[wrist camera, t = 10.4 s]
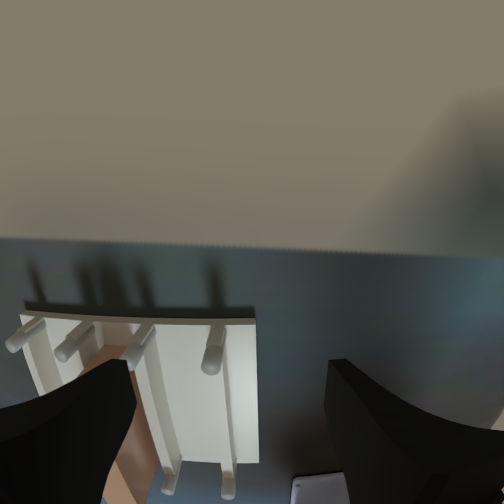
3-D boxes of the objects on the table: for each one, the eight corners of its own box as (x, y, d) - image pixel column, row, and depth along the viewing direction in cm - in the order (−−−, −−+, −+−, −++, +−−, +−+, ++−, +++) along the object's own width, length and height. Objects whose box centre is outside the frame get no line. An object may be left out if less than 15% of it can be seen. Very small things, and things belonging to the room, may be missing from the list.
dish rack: (258, 454, 23) (259, 499, 18) (69, 433, 23) (48, 466, 18) (255, 317, 20) (255, 358, 15) (26, 310, 20) (-12, 335, 15)
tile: (162, 449, 21) (142, 513, 15) (134, 445, 21) (109, 506, 15) (137, 346, 19) (94, 411, 12) (104, 344, 19) (55, 403, 13)
